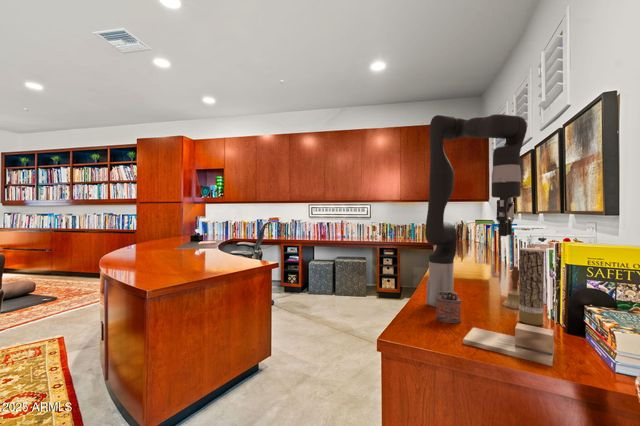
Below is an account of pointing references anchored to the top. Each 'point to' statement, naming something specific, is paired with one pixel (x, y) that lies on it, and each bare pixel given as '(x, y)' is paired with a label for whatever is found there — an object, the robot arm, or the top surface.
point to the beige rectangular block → (534, 338)
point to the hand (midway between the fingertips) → (505, 235)
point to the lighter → (448, 307)
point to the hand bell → (513, 291)
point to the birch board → (504, 345)
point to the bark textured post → (531, 286)
